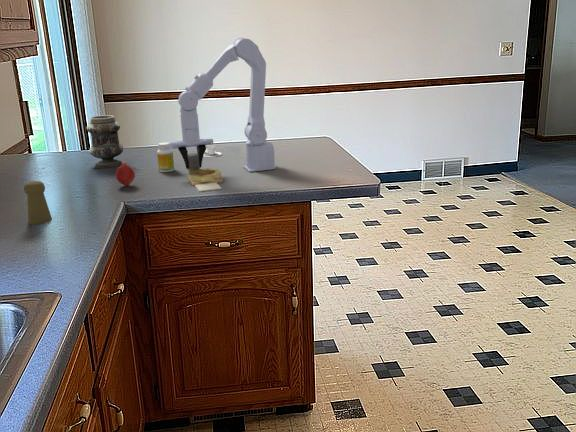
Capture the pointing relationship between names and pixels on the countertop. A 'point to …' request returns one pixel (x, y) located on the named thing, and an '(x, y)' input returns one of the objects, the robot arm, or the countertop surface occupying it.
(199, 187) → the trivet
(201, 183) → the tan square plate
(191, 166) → the steel block
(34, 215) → the yellow tapered knobbed piece
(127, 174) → the pomegranate
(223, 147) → the countertop surface
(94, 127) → the carved stone vase
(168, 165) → the supplement bottle
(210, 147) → the teacup and saucer
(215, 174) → the collar
